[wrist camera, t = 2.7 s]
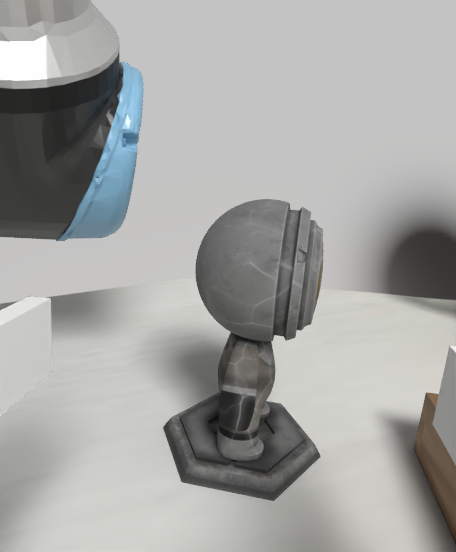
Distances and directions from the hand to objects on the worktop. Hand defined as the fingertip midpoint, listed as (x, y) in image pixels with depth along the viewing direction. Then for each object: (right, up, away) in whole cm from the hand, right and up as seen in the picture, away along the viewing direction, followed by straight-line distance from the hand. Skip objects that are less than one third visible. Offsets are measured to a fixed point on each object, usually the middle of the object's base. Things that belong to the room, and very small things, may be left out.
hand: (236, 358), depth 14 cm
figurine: (0, -8, +13) cm, 15 cm away
